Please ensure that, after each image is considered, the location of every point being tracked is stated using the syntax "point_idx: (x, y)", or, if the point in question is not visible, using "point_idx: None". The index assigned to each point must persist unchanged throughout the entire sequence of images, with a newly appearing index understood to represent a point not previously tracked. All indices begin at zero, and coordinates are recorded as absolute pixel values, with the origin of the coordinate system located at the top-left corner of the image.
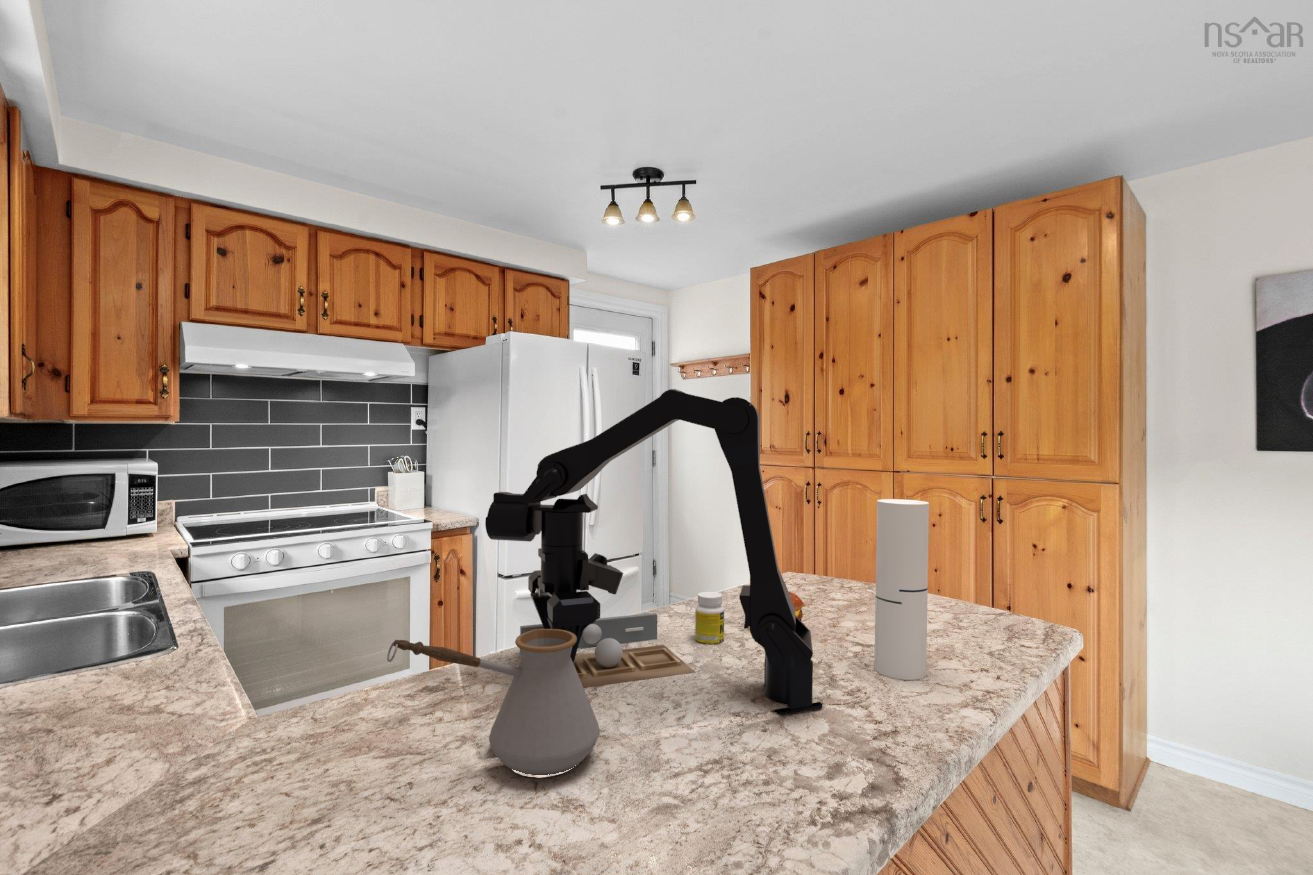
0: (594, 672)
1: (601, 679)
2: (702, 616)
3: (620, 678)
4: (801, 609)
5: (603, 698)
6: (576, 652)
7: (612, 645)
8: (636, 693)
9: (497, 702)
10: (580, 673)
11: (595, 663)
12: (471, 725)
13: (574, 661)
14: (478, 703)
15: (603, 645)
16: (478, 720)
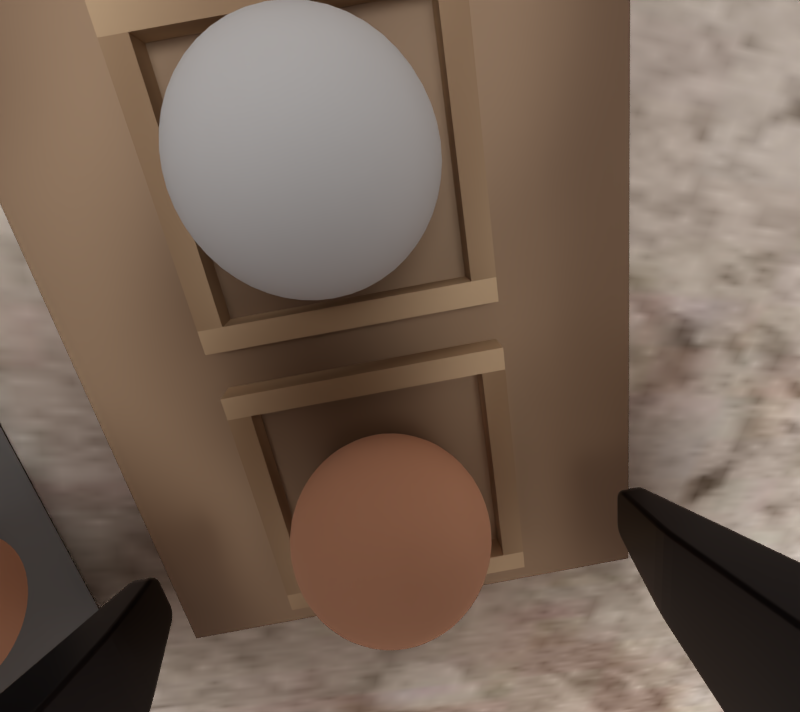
0: (494, 297)
1: (541, 249)
2: None
3: (562, 110)
4: None
5: (678, 249)
6: (745, 537)
7: (397, 128)
8: (685, 21)
9: (564, 661)
10: (488, 384)
11: None
12: (715, 703)
13: (415, 441)
14: (553, 709)
15: (378, 235)
16: (688, 692)
